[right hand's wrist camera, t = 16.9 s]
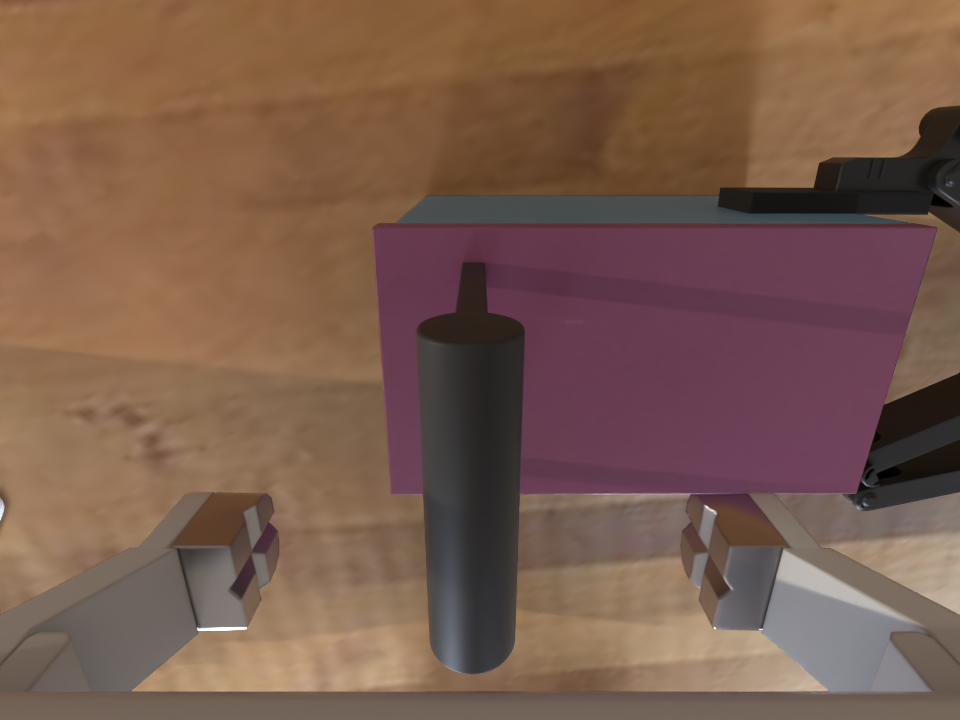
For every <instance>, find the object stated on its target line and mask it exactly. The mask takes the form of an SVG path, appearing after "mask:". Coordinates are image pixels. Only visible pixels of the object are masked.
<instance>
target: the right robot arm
mask: <svg viewBox="0 0 960 720" xmlns="http://www.w3.org/2000/svg"><path fill="white" fill-rule="evenodd" d="M3 512H4V503H3V501H2V499H1V497H0V520H1V517H2V515H3ZM273 513H274V508H273V503H272V498H271V497H270V496H269V495H268V494H267V493H221V492H217V493H214V492H191V493H188V494H185V495H184V496H183V497H182V498H181V499H180V500H179V502H178V503H177V504H176V505H175V506H174V507H173V508H172V510H171V511H170V512H169V513H168V514H167V515H166V517H165V518H164V519H163V520H162V521H161V522H160V523H159V525H158V526H157V527H156V528H155V529H154V530H153V531H152V533H151V534H150V535H149V536H148V537H147V538H146V540H145V541H144V542H143V543H142V544H141V545H140V546H139V548H129V549H127V550H125V551H123V552H121V553H119V554H117V555H115V556H113V557H111V558H110V559H108V560H106V561H104V562H102V563H100V564H98V565H96V566H94V567H92V568H90V569H88V570H86V571H84V572H82V573H80V574H78V575H77V576H75V577H73V578H71V579H69V580H67V581H65V582H63V583H61V584H59V585H57V586H55V587H53V588H51V589H49V590H47V591H45V592H44V593H42V594H40V595H38V596H36V597H34V598H32V599H30V600H28V601H26V602H24V603H22V604H20V605H18V606H16V607H14V608H13V609H11V610H9V611H7V612H5V613H3V614H1V615H0V720H960V615H959V614H957V613H955V612H953V611H951V610H949V609H947V608H945V607H943V606H941V605H939V604H937V603H936V602H934V601H932V600H930V599H928V598H926V597H924V596H922V595H920V594H918V593H916V592H914V591H912V590H910V589H908V588H907V587H905V586H903V585H901V584H899V583H897V582H895V581H893V580H891V579H889V578H887V577H885V576H883V575H881V574H879V573H878V572H876V571H874V570H872V569H870V568H868V567H866V566H864V565H862V564H860V563H858V562H856V561H854V560H852V559H850V558H848V557H847V556H845V555H843V554H841V553H839V552H837V551H835V550H833V549H831V548H821V546H820V545H819V544H818V543H817V542H816V541H815V540H814V538H813V537H812V536H811V535H810V534H809V533H808V532H807V530H806V529H805V528H804V527H803V526H802V525H801V523H800V522H799V521H798V520H797V519H796V518H795V517H794V515H793V514H792V513H791V512H790V511H789V510H788V508H787V507H786V506H785V505H784V504H783V503H782V502H781V500H780V499H779V498H778V497H777V496H776V495H775V494H773V493H770V492H753V493H742V494H691V495H690V497H689V499H688V502H687V507H686V513H687V515H688V517H689V519H690V521H691V523H690V524H689V525H688V526H687V527H686V528H685V529H684V530H683V531H682V538H681V557H682V562H683V566H684V569H685V572H686V574H687V576H688V578H689V581H690V582H692V583H693V584H694V585H696V586H697V587H699V588H700V589H701V590H700V596H699V601H700V603H701V605H702V607H703V609H704V611H705V613H706V615H707V617H708V619H709V621H710V623H711V625H712V627H713V629H720V630H756V631H762V634H763V635H764V636H766V637H767V638H768V639H769V640H770V641H771V642H773V643H774V644H775V645H776V646H777V647H778V648H780V649H781V650H782V651H783V652H784V653H785V654H787V655H788V656H789V657H790V658H791V659H792V660H794V661H795V662H796V663H797V664H798V665H799V666H801V667H802V668H803V669H804V670H805V671H806V672H808V673H809V674H810V675H811V676H812V677H813V678H815V679H816V680H817V681H818V682H819V683H820V684H822V685H823V686H824V687H825V688H826V689H827V690H829V691H805V692H595V691H496V692H130V691H131V690H133V689H134V688H135V687H136V686H137V685H139V684H140V683H141V682H142V681H143V680H144V679H146V678H147V677H148V676H149V675H150V674H151V673H153V672H154V671H155V670H156V669H157V668H158V667H160V666H161V665H162V664H163V663H164V662H165V661H167V660H168V659H169V658H170V657H171V656H172V655H174V654H175V653H176V652H177V651H178V650H179V649H181V648H182V647H183V646H184V645H185V644H186V643H188V642H189V641H190V640H191V639H192V638H193V637H195V636H196V635H197V634H198V631H204V630H238V629H247V628H248V625H249V623H250V621H251V619H252V617H253V615H254V613H255V611H256V609H257V607H258V605H259V603H260V601H261V596H260V590H259V589H260V588H261V587H263V586H264V585H266V584H267V583H268V582H270V581H271V578H272V576H273V574H274V572H275V570H276V566H277V561H278V557H279V537H278V531H277V530H276V529H275V528H274V527H273V526H272V525H271V524H270V523H269V521H270V519H271V517H272V515H273Z"/></svg>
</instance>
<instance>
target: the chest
mask: <svg viewBox="0 0 960 720" xmlns="http://www.w3.org/2000/svg"><path fill="white" fill-rule="evenodd" d="M718 201H719V195H427V196H425V197H424V198H423V199H422V200H421V201H420V202H419V203H418V204H416V205H415V206H414V207H413V208H412V209H411V210H410V211H408V212H407V213H406V214H405V215H404V216H403V217H401V218H400V219H399V220H398V221H397V222H396V223H907V222H901V221H895V220H889V219H883V218H877V217H871V216H865V215H859V214H749V213H744V212H740V211H736V210H731V209H727V208H722V207H718Z"/></svg>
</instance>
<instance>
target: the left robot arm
mask: <svg viewBox="0 0 960 720" xmlns="http://www.w3.org/2000/svg"><path fill="white" fill-rule="evenodd" d="M919 134H920V136H921V137H920V139H919V141H918V142H917V144H916V145H915V146H914V148H913V149H912V150H910V151H909V152H908V153H906V154H905V155H903V156H900V157H895V158H839V157H833V158H831V159H828V160H826V161H823V162H821V163H819V167H818V171H817V176H816V180H815V185H814V188H720V195H719V201H718V207H722V208H727V209H731V210H736V211H740V212H744V213H749V214H892V215H928V211H929V212H930V213H931V214H933V215H934V216H936V217H937V218H939V219H940V220H942V221H943V222H945V223H946V224H948V225H949V226H951V227H952V228H954V229H955V230H957V231H958V232H960V106H950V107H939V108H935V109H932V110H930V111H929V112H928V113H927V114H925V116H924V117H923V118H922V120H921V122H920V125H919ZM958 492H960V373H958V374H956V375H954V376H952V377H949V378H947V379H945V380H942V381H940V382H937V383H935V384H933V385H930V386H928V387H926V388H923V389H921V390H919V391H916V392H914V393H911V394H909V395H907V396H904V397H902V398H900V399H897V400H895V401H893V402H890V403H888V404H886V405H883V408H882V411H881V415H880V418H879V421H878V424H877V428H876V431H875V434H874V437H873V441H872V444H871V447H870V450H869V454H868V457H867V460H866V464H865V467H864V470H863V473H862V477H861V480H860V483H859V486H858V490H857V493H856V494H843V495H844V496H845V497H846V498H847V499H848V500H849V501H850V502H852V503H853V504H854V505H855V506H856V507H857V508H858V509H859V510H862V511H869V510H874V509H879V508H884V507H889V506H894V505H899V504H904V503H909V502H914V501H918V500H923V499H928V498H933V497H938V496H943V495H948V494H953V493H958Z"/></svg>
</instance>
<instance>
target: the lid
mask: <svg viewBox="0 0 960 720" xmlns="http://www.w3.org/2000/svg"><path fill="white" fill-rule="evenodd" d="M936 232H937V228H936V227H933V226H927V225H921V224H915V223H378V224H377V225H375V226H374V227H372V238H373V252H374V265H375V279H376V293H377V307H378V321H379V335H380V349H381V363H382V377H383V391H384V405H385V419H386V433H387V447H388V461H389V475H390V488H391V494H423V501H424V523H425V544H426V566H427V588H428V610H429V632H430V644H431V648H432V650H433V652H434V654H435V656H436V657H437V658H438V660H439V661H440V662H441V663H442V664H443V665H445V666H446V667H448V668H449V669H451V670H453V671H456V672H459V673H463V674H480V673H485V672H488V671H491V670H493V669H495V668H496V667H498V666H499V665H501V664H502V663H503V662H504V661H505V660H506V659H507V657H508V656H509V655H510V653H511V651H512V649H513V646H514V642H515V622H516V592H517V562H518V531H519V501H520V494H742V493H753V492H770V493H773V494H856V493H857V490H858V486H859V483H860V480H861V477H862V473H863V470H864V467H865V464H866V460H867V457H868V454H869V450H870V447H871V444H872V441H873V437H874V434H875V431H876V428H877V424H878V421H879V418H880V415H881V411H882V408H883V405H884V402H885V398H886V395H887V392H888V388H889V385H890V382H891V379H892V375H893V372H894V369H895V366H896V362H897V359H898V356H899V353H900V349H901V346H902V343H903V339H904V336H905V333H906V330H907V326H908V323H909V320H910V317H911V313H912V310H913V307H914V304H915V300H916V297H917V294H918V290H919V287H920V284H921V281H922V277H923V274H924V271H925V268H926V264H927V261H928V258H929V255H930V251H931V248H932V245H933V241H934V238H935V235H936Z"/></svg>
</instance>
